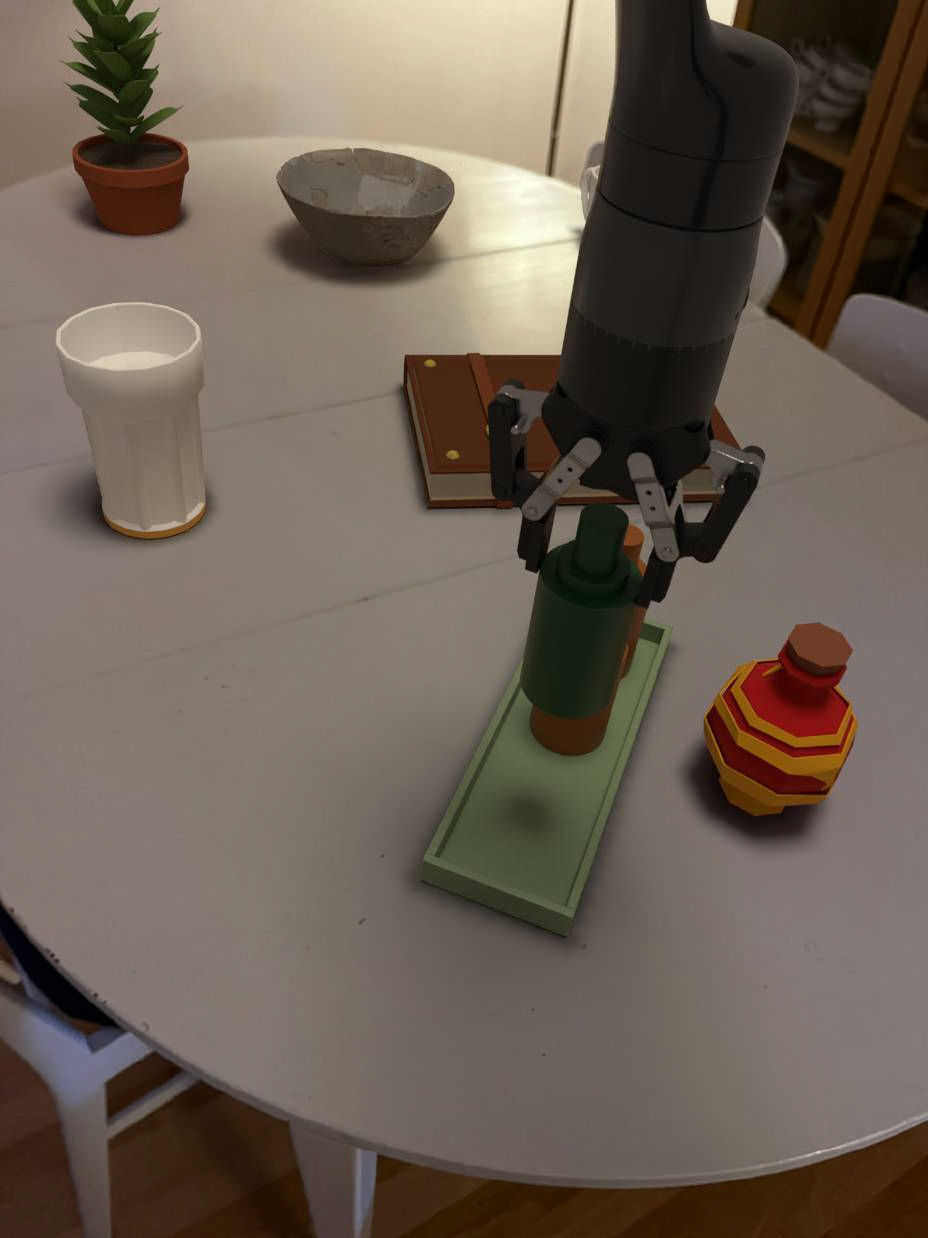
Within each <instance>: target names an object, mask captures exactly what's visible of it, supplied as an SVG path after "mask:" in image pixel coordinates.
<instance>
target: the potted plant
mask: <svg viewBox="0 0 928 1238" xmlns="http://www.w3.org/2000/svg"><path fill="white" fill-rule="evenodd" d="M134 1H135V0H118V1H117V3H116V4H115V1H114V0H71V3H72V5H73V6H74V7H75V8H76V10H77V11H78V13H79V14H80V15H81V17H82V18H83V19H84V20H85V21H86V23H87V24H88V25H89V26H90V28H91V33H92V36H90V35H89V36H88V35H85V34H83V33H82V32H81V31H79V30H78V29H76V28H74V30H75V32H77V34H78V35H79V36H80V37H81V38H83V39H84V41H76V40H74V39H73V38H72V37H70V36H69V35H67V37H68V38H69V40H70V41H71V43H72V46H73V47H74V49H76V50H77V51H78V52H79V54H80V55H82V57H84V58H85V60H87V61H88V62H89V64H91V66H90V65H88V64H86V63H83V62H79V61H70V62H65V61H64V60H62V59H59V58H57V61H60V62H61V63H63V64H64V65H66V66H67V67H68V68H70V69H72V70H73V71H75V72H77V73H79V74H80V75H82V76H83V77H85V78H87V79H89V80H91V81H92V82H94V83H96V84H97V85H99V86H100V87H103V88H104V89H105V90H107V91H109V92H111V93H112V94H113V96H114V97H115V99H116V100H118V101H116V100H115V99H113V98H112V97H110V96H108V95H107V94H105V93H104V92H102V91H100V90H98V89H96V88H94V87H92V86H89V85H86V84H80V83H79V84H70V83H68V82H66V81H62V83H64V84H65V85H66V86H68V87H69V88H70V90H71V91H73V92H74V93H76V94H78V95H79V96H81V97H83V98H84V99H82V98H80V97H77V96H74V97H75V98H76V99H77V100H78V102H79V103H78V107H79V108H80V109H81V110H82V111H83V112H85V113H87V114H88V115H89V116H91V117H92V118H93V119H94V120H96V121H97V122H99V123H100V124H101V125H103V126H104V127H105V128H104V127H102V126H100V125H97V126H95V128H96V129H97V130H99V131H100V132H101V134H97V135H92V136H88V137H86V138H84V139H82V140H80V141H78V142H77V143H76V144H75V145H74V146H72V149H71V150H72V151H71V157H72V163H73V167H74V168H73V169H74V171H75V172H76V174H77V175H78V176H79V177H81V179H82V182H83V184H84V187H85V189H86V191H87V193H88V196H89V198H90V201H91V203H92V205H93V207H94V210H95V213H96V214H97V216H98V217H97V218H98V219H99V221H100V223H101V224H102V225H103V227H104V228H106V229H108V230H110V231H112V232H115V233H119V234H125V235H133V236H139V235H141V236H146V235H147V236H148V235H153V234H159V233H162V232H166V231H169V230H170V229H172V228H173V227H176V225H177V223H178V222H179V217H180V210H181V205H182V199H183V192H184V185H185V179H186V175H187V174H188V173H189V171H190V162H189V153H188V152H189V151H188V148H187V146H186V145H184V144H183V143H182V142H180V141H179V140H176V139H174V138H172V137H170V136H166V135H162V134H157V133H151V132H149V131H150V130H152V129H154V128H155V127H157V126H158V125H159V124H161V123H163V122H164V121H166V120H167V119H169V118H170V117H172V116H173V115H175V114H176V113H177V112H178V111H179V110H180V109H182V108H183V107H184V104H183V105H181V106H179V107H173V106H169V107H168V106H166V107H164V108H161V109H159V110H158V111H156V112H154V113H152V114H150V115H149V116H148V117H146V118H145V115H144V114H142V113H143V112H144V110H145V109H146V107H147V105H148V103H149V102H150V100H151V98H152V97H153V93H154V89H153V88H152V87H151V85H152V84H153V83H154V81H155V79H156V78H157V77H158V75H159V73H160V72H159V70H158V69H159V67H160V65H161V64H160V62H159V63H158V64H157V65H156V66H155V67H154V68H145V65H146V63H147V62H148V60H149V58H150V55H151V54H152V52H153V49H154V47H155V44H156V38H157V37H159V36H160V35H161V34H163V31H160V32H157V30H158V26H156V27H155V29H154V30H153V31H152V32H151V33H148V34H145V35H144V36H143V34H144V32H145V31H146V30H147V29H148V27H150V25H151V24H152V23H153V22H154V20H155V19H156V17H157V15H158V12H159V11H160V9H161V6H159V7H158V8H157V9H156V10H155V11H142V12H139V13H137V14H135V16H134V17H133V18H131V20H130V21H129V19H128V17H127V16H126V15H127V14H128V11H129V9H130V8H131V6H132V4H133V3H134ZM142 36H143V37H142ZM141 114H142V115H141ZM132 128H134V129H132Z"/></svg>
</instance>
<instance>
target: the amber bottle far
mask: <svg viewBox="0 0 928 1238" xmlns="http://www.w3.org/2000/svg"><path fill="white" fill-rule="evenodd" d="M644 540H645V534H644V532H643V531H642V529H640V528H639V527H638V526H636V525H634V524H630V523H629V525H628V529H627V533H626V537H625V541H624V545H623V549H622V550H623V551H624V552H625V553H626V554H627V555H628V557H629V558H631V559H632V560H633V561H634V562H635V563H636V565H637V566H638V568H639V569H640V571H641V573H642V577H644V573H645V570H646V566H647V563H645V562H644V561H643V560H642V558H640V556H641V552H642V549H643V545H644ZM647 611H648V609H645V608H642V607H639V606H638V607H637V611H636V614H635V618H634V621H633V625H632V629H631V632H630V636H629V639H628V643H627V644H628V654H627V658H626V661H625V665H624V668H623V672H622V676H621V679H622V678H624V677H625V676H626V675H627V674H628V672H629V670H630V668H631V664H632V661H633V657H634V654H635V650H636V647H637V643H638V640H639V636H640V633H641V629H642V626H643V622H644V619H645V618H646V614H647ZM621 679H620V680H621Z"/></svg>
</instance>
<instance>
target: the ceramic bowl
mask: <svg viewBox="0 0 928 1238" xmlns="http://www.w3.org/2000/svg"><path fill="white" fill-rule="evenodd" d="M275 177H276V178H275V179H276V183H277V185H278V188H279V189H280V192H281V195H282V197H283V198H284V200H285V202H286V204H287V205H288V207H289V209H290V210H291V213H292V214H293V215H294V217H295V218H296V220H297V222H298V224H299V225H300V226H301V227H302V229H303V230H304V231H305V233H306V235H308V236H309V238H310V239H311V241H313V242H314V243H315V244H316V245H317V246H318V247H319V248H320V249H321V251H322V252H324V253H325V254H326V255H328V256H329V257H331V258H333V259H334V260H336V261H339V262H340V263H343V264H346V265H348V266H353V267H354V266H355V267H365V268H366V267H367V268H386V267H387V268H388V267H389V268H390V267H397V266H399V265H402V264H404V263H406V262H408V261H409V260H410V259H412V257H414V256H415V255H416V254H418V253H419V252H420V251H421V250H422V249H423V247H424V246H425V245H426V244H427V243H428V241H429V240H430V239H431V237H432V236H433V235H434V233H435V232H436V230H437V228H438V227H439V225H440V224H441V223H442V221H443V219H444V217H445V215H446V213H447V212H448V210H449V208H450V207H451V204H452V203H453V202H454V198H455V193H456V190H455V183H454V181H453V179H452V178H451V176H450V175H449V174H448V173H447V172H446V171H444V170H443V169H441V168H440V167H438V166H436V165H433V164H432V163H429V162H425V161H424V160H420V159H416V158H415V157H412V156H408V155H404V154H400V153H394V152H391V151H390V152H389V151H387V152H386V151H383V150H378V149H373V148H368V147H367V148H366V147H353V148H350V147H344V148H330V149H329V148H328V149H318V150H313V151H309V152H305V153H303V154H299V156H294V157H291V158H289V159H288V161H285V162H284V163H283V165H281V166H280V169H278V171H277V173H276V176H275Z"/></svg>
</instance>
